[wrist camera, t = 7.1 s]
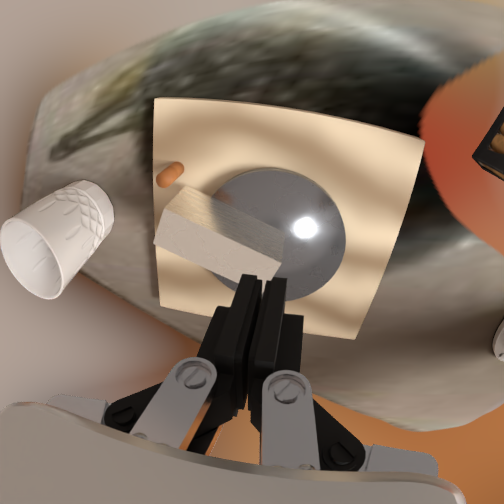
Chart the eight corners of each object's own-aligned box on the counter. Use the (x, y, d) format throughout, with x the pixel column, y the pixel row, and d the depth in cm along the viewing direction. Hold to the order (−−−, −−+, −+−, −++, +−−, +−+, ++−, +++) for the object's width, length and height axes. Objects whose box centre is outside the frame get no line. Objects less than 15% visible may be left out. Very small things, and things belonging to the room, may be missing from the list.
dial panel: (353, 329, 33) (357, 360, 29) (165, 297, 34) (150, 325, 30) (418, 137, 21) (440, 150, 18) (162, 96, 23) (136, 102, 19)
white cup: (57, 172, 27) (-10, 213, 19) (117, 176, 27) (50, 224, 19) (67, 236, 32) (13, 288, 23) (123, 247, 31) (72, 309, 23)
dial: (372, 212, 24) (387, 247, 19) (299, 312, 30) (297, 355, 25) (210, 130, 22) (186, 146, 17) (164, 251, 28) (140, 286, 24)
